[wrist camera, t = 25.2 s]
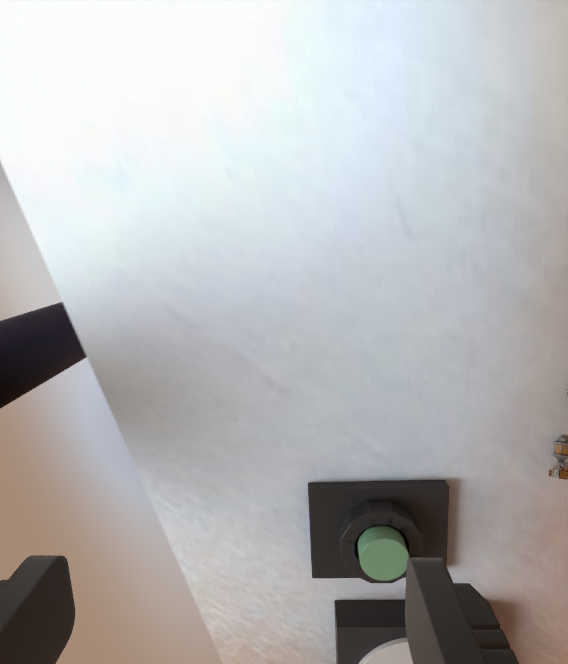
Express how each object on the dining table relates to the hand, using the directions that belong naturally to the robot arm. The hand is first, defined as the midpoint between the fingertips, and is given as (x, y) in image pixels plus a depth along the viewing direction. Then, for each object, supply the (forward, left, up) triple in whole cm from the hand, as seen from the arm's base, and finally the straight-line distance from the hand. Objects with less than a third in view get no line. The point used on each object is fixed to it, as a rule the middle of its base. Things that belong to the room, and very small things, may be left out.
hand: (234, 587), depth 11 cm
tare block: (+7, -19, -28) cm, 34 cm away
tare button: (+7, -19, -25) cm, 32 cm away
